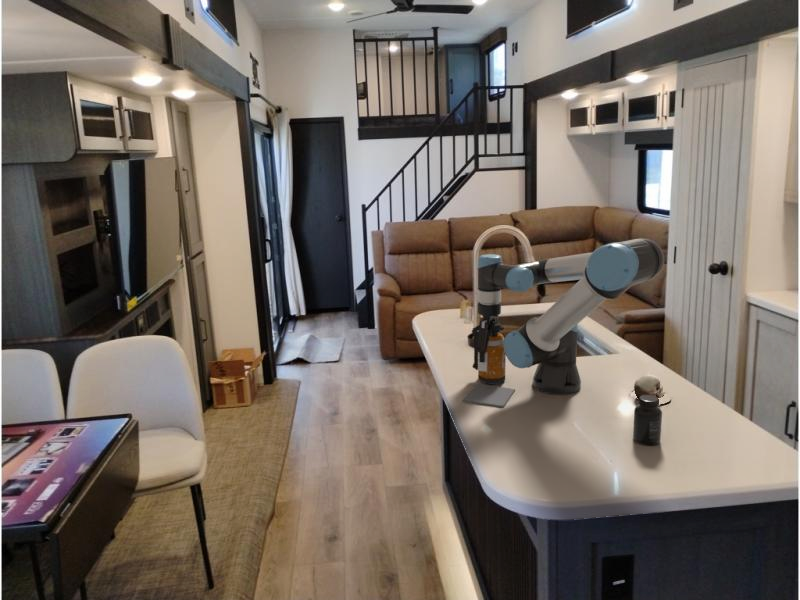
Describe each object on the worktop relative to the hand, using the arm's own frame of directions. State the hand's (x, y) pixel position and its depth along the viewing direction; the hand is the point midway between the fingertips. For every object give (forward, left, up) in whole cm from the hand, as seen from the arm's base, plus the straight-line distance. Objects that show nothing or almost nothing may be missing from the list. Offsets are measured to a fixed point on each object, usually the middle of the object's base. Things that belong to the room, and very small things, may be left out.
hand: (488, 364), depth 210 cm
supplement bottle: (-51, +27, -6) cm, 58 cm away
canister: (0, 0, -6) cm, 6 cm away
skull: (-50, -3, -6) cm, 51 cm away
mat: (-4, +13, -6) cm, 15 cm away
